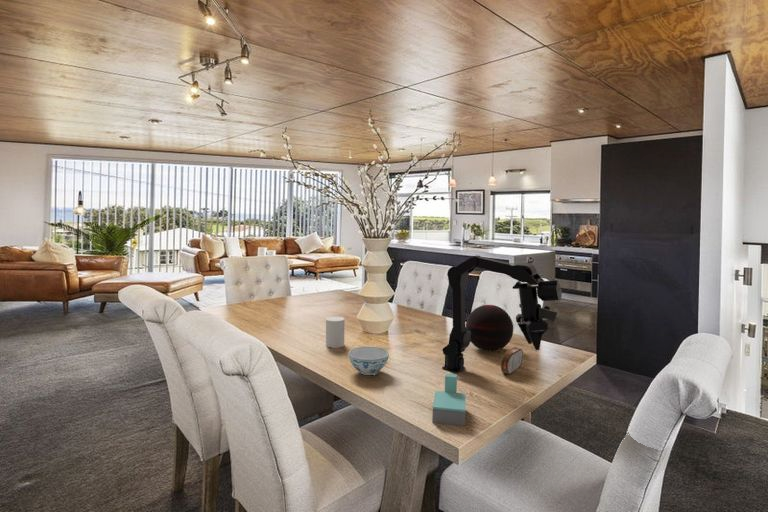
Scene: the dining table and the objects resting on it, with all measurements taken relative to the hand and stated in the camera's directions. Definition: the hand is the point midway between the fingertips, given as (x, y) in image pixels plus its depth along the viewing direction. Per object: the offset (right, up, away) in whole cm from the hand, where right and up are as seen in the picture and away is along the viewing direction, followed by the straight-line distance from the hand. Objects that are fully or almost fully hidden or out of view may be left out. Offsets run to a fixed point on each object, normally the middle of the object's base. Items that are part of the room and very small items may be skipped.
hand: (533, 346), depth 147 cm
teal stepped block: (-32, -15, -20) cm, 40 cm away
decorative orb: (-5, -11, +42) cm, 43 cm away
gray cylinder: (-73, -9, +45) cm, 86 cm away
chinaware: (-57, -13, +13) cm, 59 cm away
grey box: (-32, -16, -21) cm, 42 cm away
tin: (-2, -13, +17) cm, 22 cm away
